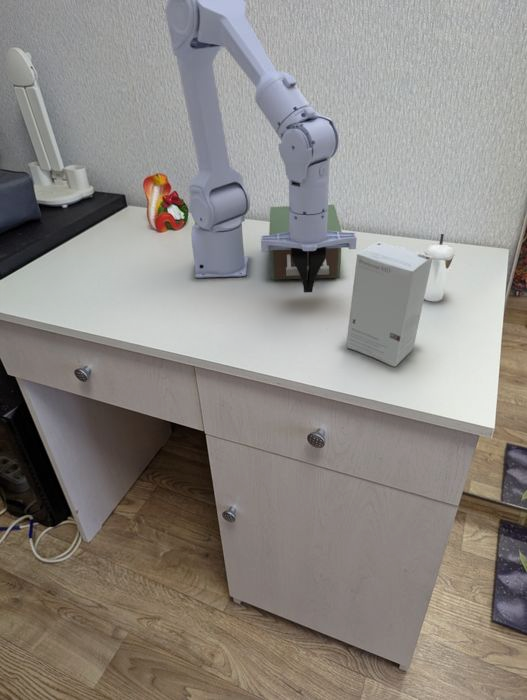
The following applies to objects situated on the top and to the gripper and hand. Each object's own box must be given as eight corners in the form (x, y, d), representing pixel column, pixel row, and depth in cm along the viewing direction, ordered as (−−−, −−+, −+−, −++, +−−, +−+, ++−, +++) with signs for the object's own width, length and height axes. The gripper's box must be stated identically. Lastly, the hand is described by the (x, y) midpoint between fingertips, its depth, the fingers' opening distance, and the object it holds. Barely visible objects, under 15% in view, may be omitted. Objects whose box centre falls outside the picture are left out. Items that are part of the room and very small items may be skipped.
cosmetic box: (345, 348, 72) (351, 253, 63) (366, 330, 75) (375, 238, 67) (398, 369, 67) (412, 270, 59) (418, 348, 71) (434, 252, 62)
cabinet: (339, 277, 90) (342, 232, 85) (271, 279, 90) (269, 235, 86) (332, 245, 102) (334, 204, 97) (271, 247, 102) (270, 206, 97)
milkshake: (447, 290, 84) (457, 234, 79) (445, 305, 80) (456, 248, 74) (419, 287, 86) (428, 232, 80) (416, 301, 82) (425, 245, 76)
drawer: (341, 294, 83) (343, 257, 79) (273, 296, 84) (272, 259, 80) (330, 245, 99) (332, 213, 96) (274, 247, 100) (273, 215, 96)
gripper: (258, 219, 70) (263, 302, 78) (361, 216, 69) (355, 300, 77) (260, 203, 76) (264, 282, 84) (355, 199, 75) (350, 279, 83)
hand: (307, 289), depth 81 cm, fingers closed, pressing on drawer
